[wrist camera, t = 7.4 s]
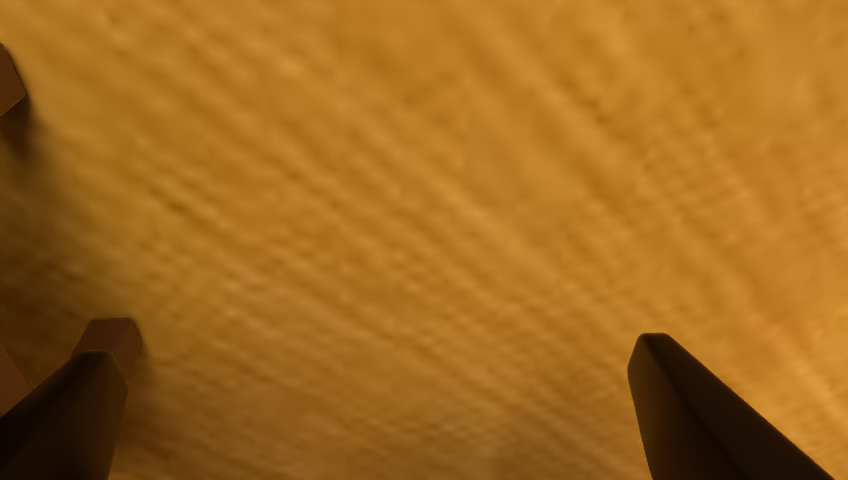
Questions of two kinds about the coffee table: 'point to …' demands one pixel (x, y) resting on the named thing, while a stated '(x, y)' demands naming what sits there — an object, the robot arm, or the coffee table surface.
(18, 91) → the chair
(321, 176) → the coffee table surface
